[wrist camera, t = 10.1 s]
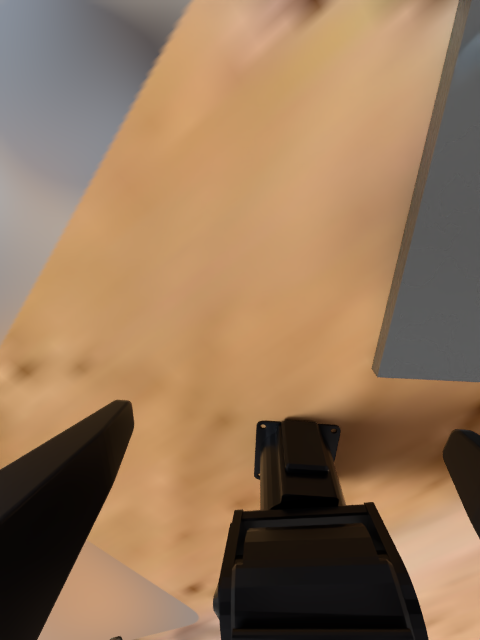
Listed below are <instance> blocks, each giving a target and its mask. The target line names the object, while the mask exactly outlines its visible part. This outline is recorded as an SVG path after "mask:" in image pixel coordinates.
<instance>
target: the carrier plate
mask: <svg viewBox="0 0 480 640" xmlns="http://www.w3.org/2000/svg"><path fill="white" fill-rule="evenodd" d="M372 370H373V372H374V373H375V375H376V376H377V377H385V378H405V379H425V380H445V381H466V382H480V0H459V4H458V8H457V12H456V17H455V21H454V25H453V29H452V33H451V38H450V42H449V46H448V50H447V54H446V59H445V63H444V67H443V71H442V75H441V80H440V84H439V88H438V92H437V96H436V101H435V105H434V109H433V113H432V117H431V122H430V126H429V130H428V134H427V138H426V143H425V147H424V151H423V155H422V159H421V164H420V168H419V172H418V176H417V180H416V185H415V189H414V193H413V197H412V201H411V206H410V210H409V214H408V218H407V222H406V227H405V231H404V235H403V239H402V243H401V248H400V252H399V256H398V260H397V264H396V269H395V273H394V277H393V281H392V285H391V290H390V294H389V298H388V302H387V306H386V311H385V315H384V319H383V323H382V327H381V332H380V336H379V340H378V344H377V348H376V353H375V357H374V361H373V365H372Z"/></svg>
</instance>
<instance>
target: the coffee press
mask: <svg viewBox="0 0 480 640" xmlns="http://www.w3.org/2000/svg"><path fill="white" fill-rule="evenodd" d="M110 640H122V638H121V637H120V636H118V637H115V638H111V639H110Z"/></svg>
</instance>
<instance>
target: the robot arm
mask: <svg viewBox="0 0 480 640" xmlns="http://www.w3.org/2000/svg"><path fill="white" fill-rule="evenodd" d="M262 424H264V425H266V427H265V428H261V427H260V425H262ZM133 429H134V417H133V409H132V404H131V402H130V401H127V400H115V401H113V402H111V403H110V404H108V405H106V406H105V407H103V408H101V409H100V410H98V411H96V412H95V413H93V414H92V415H90V416H88V417H87V418H85V419H83V420H82V421H80V422H78V423H77V424H75V425H73V426H72V427H70V428H68V429H67V430H65V431H63V432H62V433H60V434H58V435H57V436H55V437H54V438H52V439H50V440H49V441H47V442H45V443H44V444H42V445H40V446H39V447H37V448H35V449H34V450H32V451H30V452H29V453H27V454H25V455H24V456H22V457H20V458H19V459H17V460H16V461H14V462H12V463H11V464H9V465H7V466H6V467H4V468H2V469H1V470H0V640H37V639H38V637H39V635H40V633H41V631H42V629H43V627H44V625H45V623H46V621H47V619H48V616H49V615H50V613H51V611H52V608H53V606H54V604H55V602H56V600H57V598H58V596H59V594H60V592H61V590H62V588H63V586H64V584H65V582H66V580H67V578H68V576H69V574H70V572H71V569H72V568H73V565H74V564H75V562H76V559H77V557H78V555H79V553H80V551H81V549H82V547H83V545H84V543H85V541H86V539H87V537H88V535H89V533H90V531H91V529H92V527H93V525H94V523H95V521H96V519H97V517H98V515H99V513H100V510H101V508H102V506H103V504H104V502H105V500H106V498H107V496H108V494H109V492H110V490H111V488H112V485H113V483H114V481H115V478H116V476H117V473H118V470H119V468H120V465H121V462H122V459H123V457H124V454H125V451H126V449H127V446H128V443H129V441H130V438H131V435H132V433H133ZM332 429H337V431H336V432H331V430H332ZM340 432H341V430H340V427H339V426H337V425H328V424H317V423H316V422H305V421H288V420H284V421H282V422H277V421H260V422H258V423H257V428H256V448H255V468H254V477H255V478H256V479H259V480H260V510H256V511H243V510H235V511H234V516H233V521H232V523H231V524H230V528H229V533H228V538H227V543H226V548H225V553H224V558H223V563H222V568H221V573H220V578H219V583H218V586H217V589H216V591H215V594H214V599H213V609H214V612H215V613H216V615H217V617H218V618H219V620H220V632H221V640H428V635H427V630H426V626H425V622H424V619H423V615H422V611H421V608H420V605H419V602H418V598H417V596H416V593H415V590H414V587H413V584H412V582H411V579H410V577H409V574H408V572H407V570H406V567H405V565H404V563H403V561H402V559H401V557H400V555H399V553H398V551H397V549H396V547H395V545H394V543H393V541H392V539H391V537H390V535H389V533H388V531H387V529H386V527H385V525H384V523H383V521H382V519H381V517H380V515H379V513H378V510H377V508H376V506H375V504H374V503H373V502H368V503H364V504H363V505H346V504H345V500H344V496H343V493H342V489H341V486H340V482H339V479H338V475H337V472H336V468H335V464H334V461H335V456H336V451H337V446H338V441H339V437H340ZM443 459H444V462H445V464H446V467H447V469H448V471H449V474H450V476H451V478H452V480H453V483H454V485H455V487H456V490H457V492H458V494H459V497H460V499H461V501H462V504H463V506H464V508H465V510H466V513H467V515H468V517H469V519H470V521H471V523H472V525H473V527H474V529H475V531H476V533H477V535H478V537H479V538H480V435H478V434H477V433H475V432H473V431H470V430H460V429H456V430H453V431H452V432H451V434H450V436H449V438H448V441H447V443H446V445H445V447H444V449H443ZM257 474H260V476H258V475H257Z"/></svg>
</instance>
